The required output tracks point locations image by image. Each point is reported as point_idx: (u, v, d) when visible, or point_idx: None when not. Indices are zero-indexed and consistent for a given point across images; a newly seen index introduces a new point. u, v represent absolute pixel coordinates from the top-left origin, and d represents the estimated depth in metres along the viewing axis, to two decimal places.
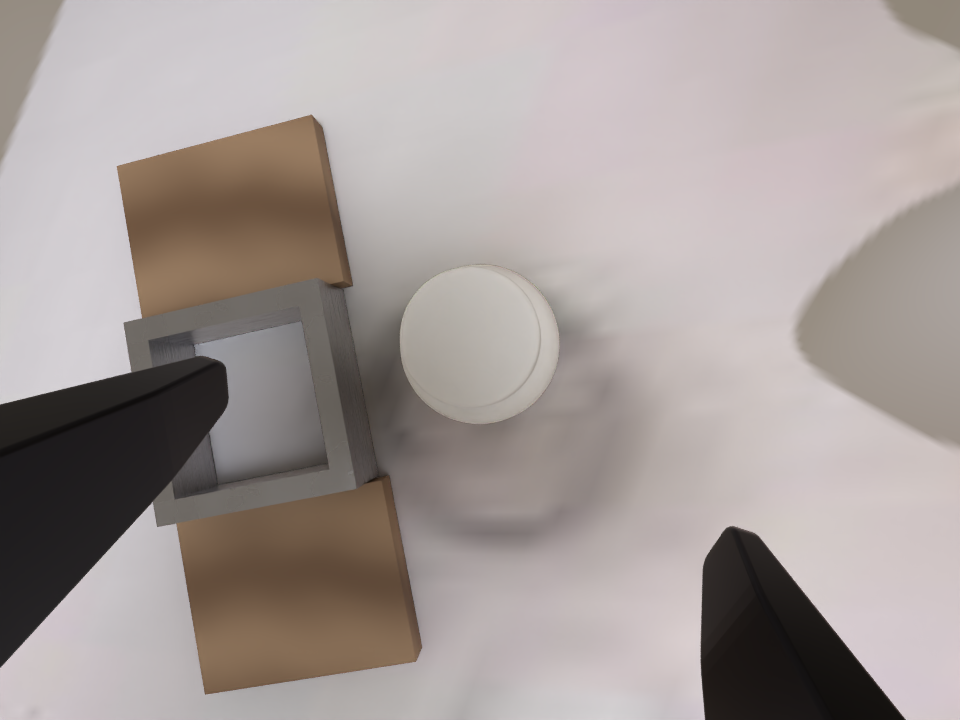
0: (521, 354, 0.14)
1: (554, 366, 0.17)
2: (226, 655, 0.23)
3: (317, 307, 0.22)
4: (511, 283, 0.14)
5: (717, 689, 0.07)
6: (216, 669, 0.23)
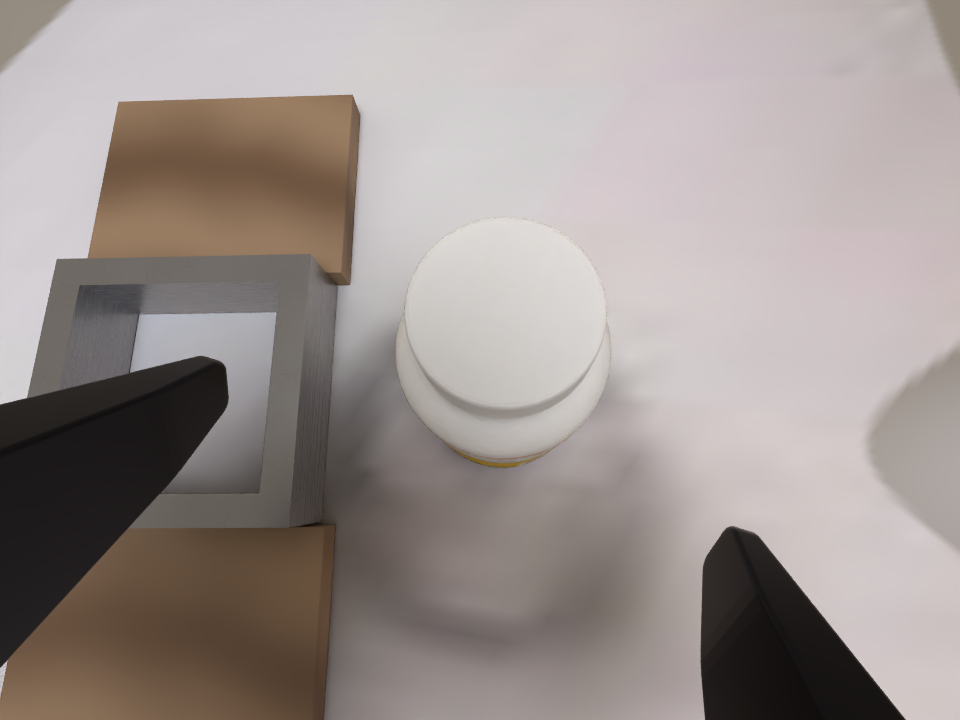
0: (576, 345, 0.10)
1: (600, 394, 0.12)
2: None
3: (301, 287, 0.17)
4: (577, 249, 0.10)
5: (717, 689, 0.07)
6: None
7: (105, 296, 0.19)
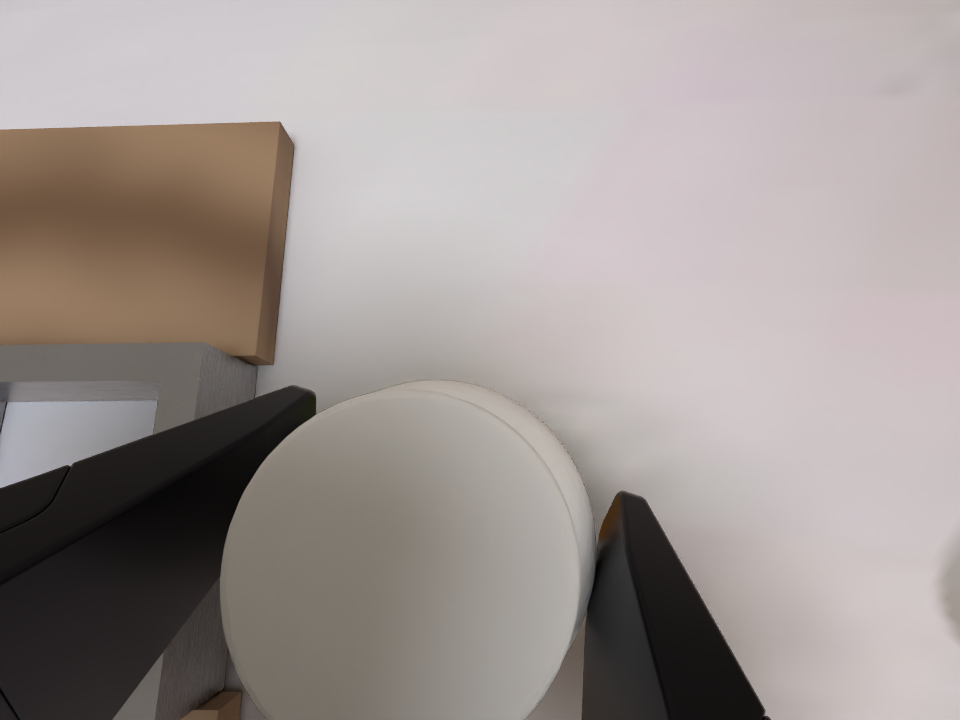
0: (522, 650, 0.05)
1: (577, 629, 0.08)
2: None
3: (189, 389, 0.13)
4: (530, 455, 0.06)
5: (592, 645, 0.07)
6: None
7: None
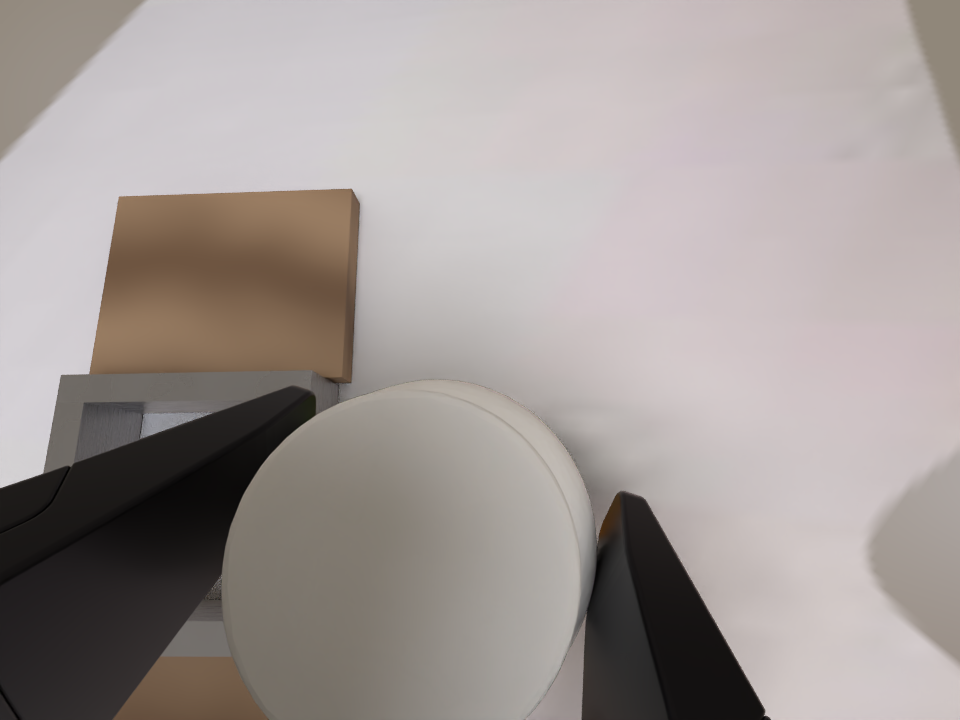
0: (523, 650, 0.05)
1: (578, 629, 0.08)
2: None
3: None
4: (531, 455, 0.06)
5: (593, 645, 0.07)
6: None
7: (109, 406, 0.19)
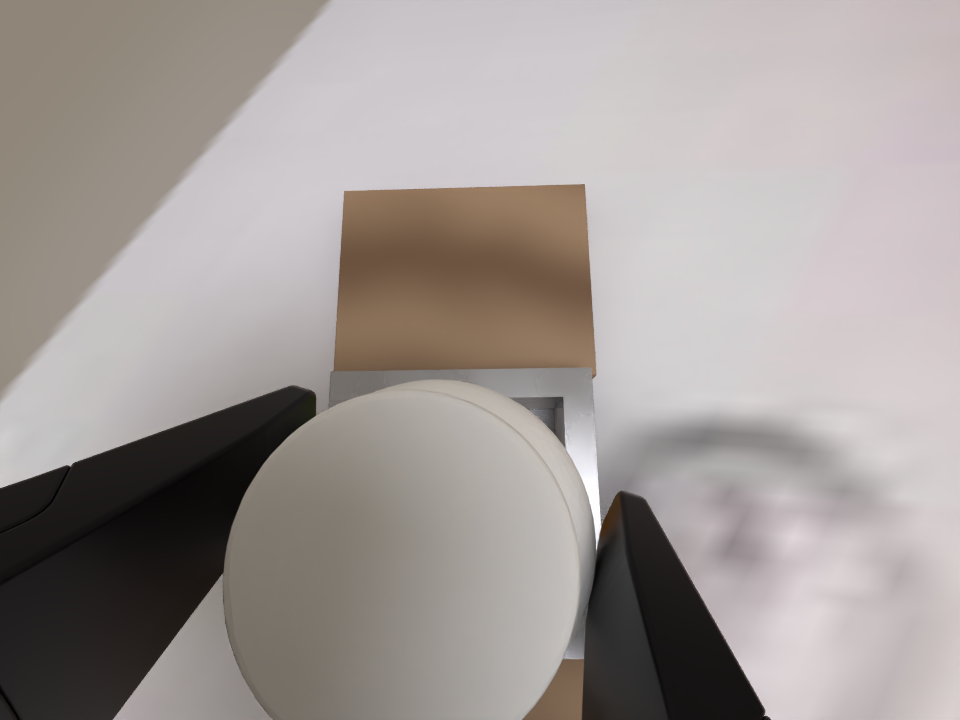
0: (522, 648, 0.05)
1: (577, 627, 0.08)
2: None
3: (586, 403, 0.17)
4: (530, 455, 0.06)
5: (592, 645, 0.07)
6: None
7: None
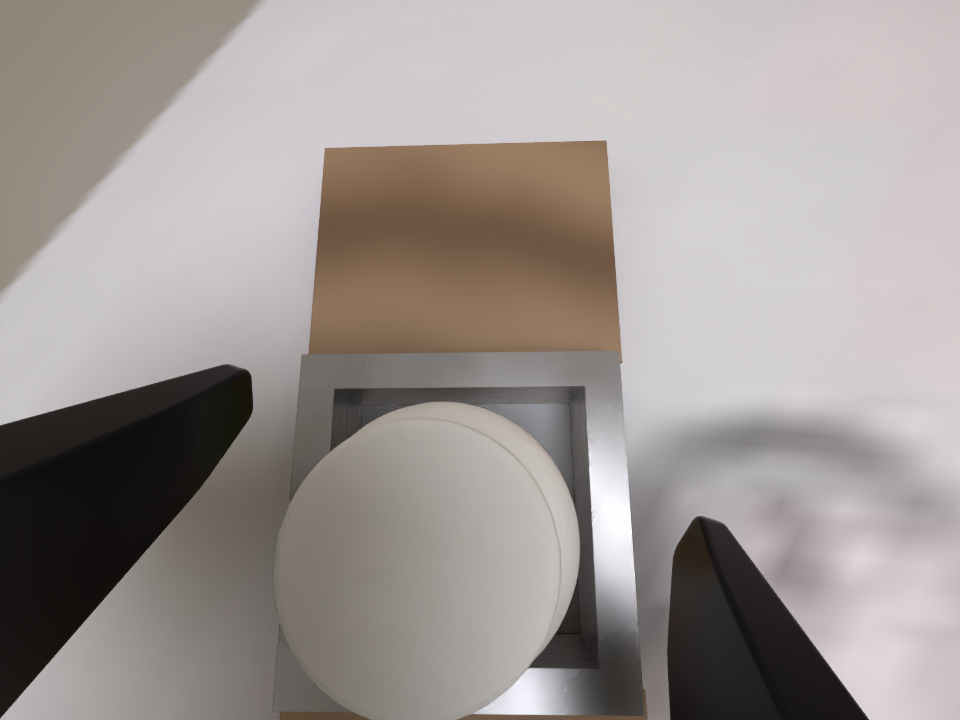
0: (515, 626, 0.07)
1: (564, 614, 0.09)
2: None
3: (613, 394, 0.14)
4: (521, 471, 0.07)
5: (681, 676, 0.07)
6: None
7: (348, 394, 0.15)
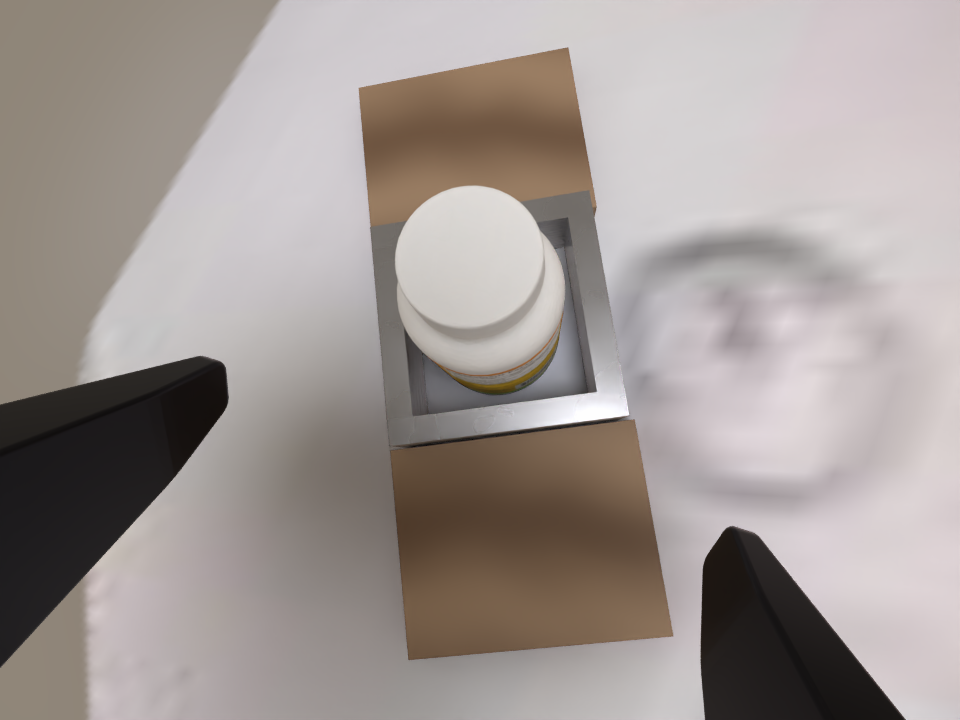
0: (522, 274, 0.13)
1: (558, 313, 0.15)
2: (438, 613, 0.20)
3: (588, 220, 0.20)
4: (517, 203, 0.13)
5: (717, 689, 0.07)
6: (424, 629, 0.20)
7: None
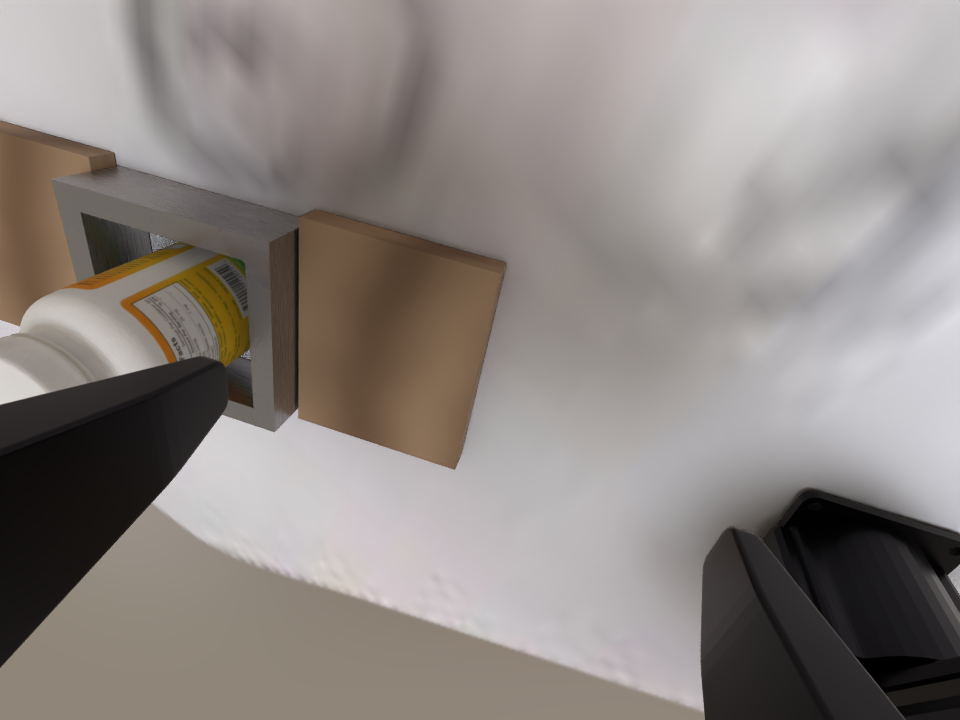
0: (23, 383, 0.15)
1: (109, 320, 0.16)
2: (427, 438, 0.23)
3: (81, 193, 0.19)
4: None
5: (717, 689, 0.07)
6: (436, 451, 0.24)
7: None
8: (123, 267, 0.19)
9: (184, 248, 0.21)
